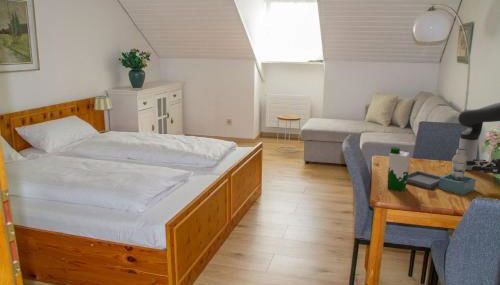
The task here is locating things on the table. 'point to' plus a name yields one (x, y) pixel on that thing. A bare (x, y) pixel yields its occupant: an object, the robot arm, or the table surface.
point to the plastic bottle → (459, 166)
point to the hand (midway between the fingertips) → (468, 165)
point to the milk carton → (398, 169)
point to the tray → (423, 179)
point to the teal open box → (457, 184)
